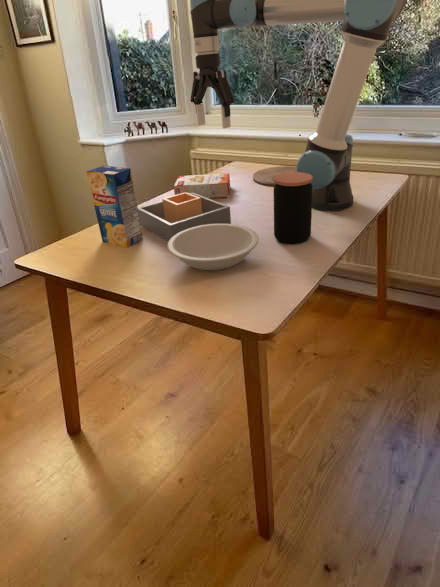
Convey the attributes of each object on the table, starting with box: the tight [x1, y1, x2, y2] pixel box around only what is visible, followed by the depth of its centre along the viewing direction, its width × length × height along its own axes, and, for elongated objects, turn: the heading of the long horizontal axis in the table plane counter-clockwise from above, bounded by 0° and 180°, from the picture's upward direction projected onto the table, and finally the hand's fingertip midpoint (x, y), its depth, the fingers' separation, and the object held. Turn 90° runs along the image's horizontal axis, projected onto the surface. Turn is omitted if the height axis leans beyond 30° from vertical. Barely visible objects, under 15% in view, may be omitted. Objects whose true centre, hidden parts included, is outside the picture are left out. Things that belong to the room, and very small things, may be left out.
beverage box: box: [86, 165, 144, 249], centre depth 129 cm, size 7×11×22 cm, turn 57°
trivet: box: [252, 165, 297, 188], centre depth 181 cm, size 25×25×2 cm
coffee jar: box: [273, 172, 313, 245], centre depth 123 cm, size 11×11×18 cm
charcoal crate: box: [137, 192, 232, 243], centre depth 141 cm, size 22×22×6 cm
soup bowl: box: [167, 223, 259, 271], centre depth 115 cm, size 24×24×7 cm
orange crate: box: [161, 192, 202, 224], centre depth 140 cm, size 9×9×8 cm
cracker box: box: [173, 172, 231, 199], centre depth 169 cm, size 14×6×21 cm
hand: (213, 126), depth 143 cm, fingers open, 13 cm apart
